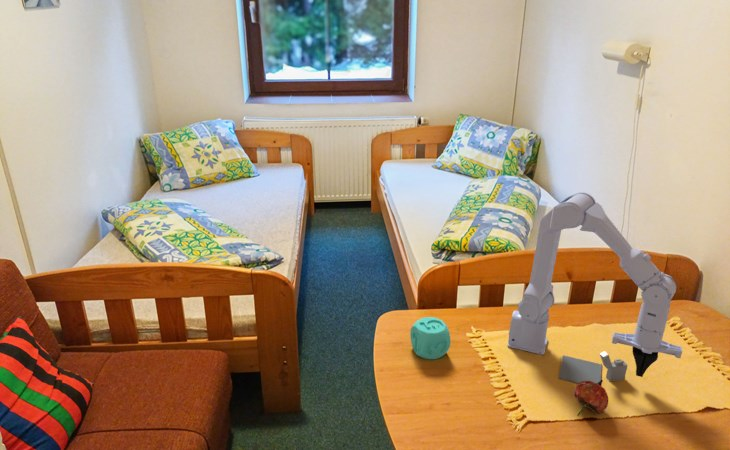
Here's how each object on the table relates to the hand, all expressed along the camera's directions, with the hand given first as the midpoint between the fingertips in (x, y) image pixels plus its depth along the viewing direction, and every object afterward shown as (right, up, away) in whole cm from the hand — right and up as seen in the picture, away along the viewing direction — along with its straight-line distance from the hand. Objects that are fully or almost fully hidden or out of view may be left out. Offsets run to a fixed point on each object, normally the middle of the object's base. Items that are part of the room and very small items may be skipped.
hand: (639, 374), depth 133 cm
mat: (-12, -1, +6) cm, 13 cm away
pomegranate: (-15, -7, -6) cm, 17 cm away
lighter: (-5, -2, +4) cm, 7 cm away
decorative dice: (-49, +2, +14) cm, 51 cm away
